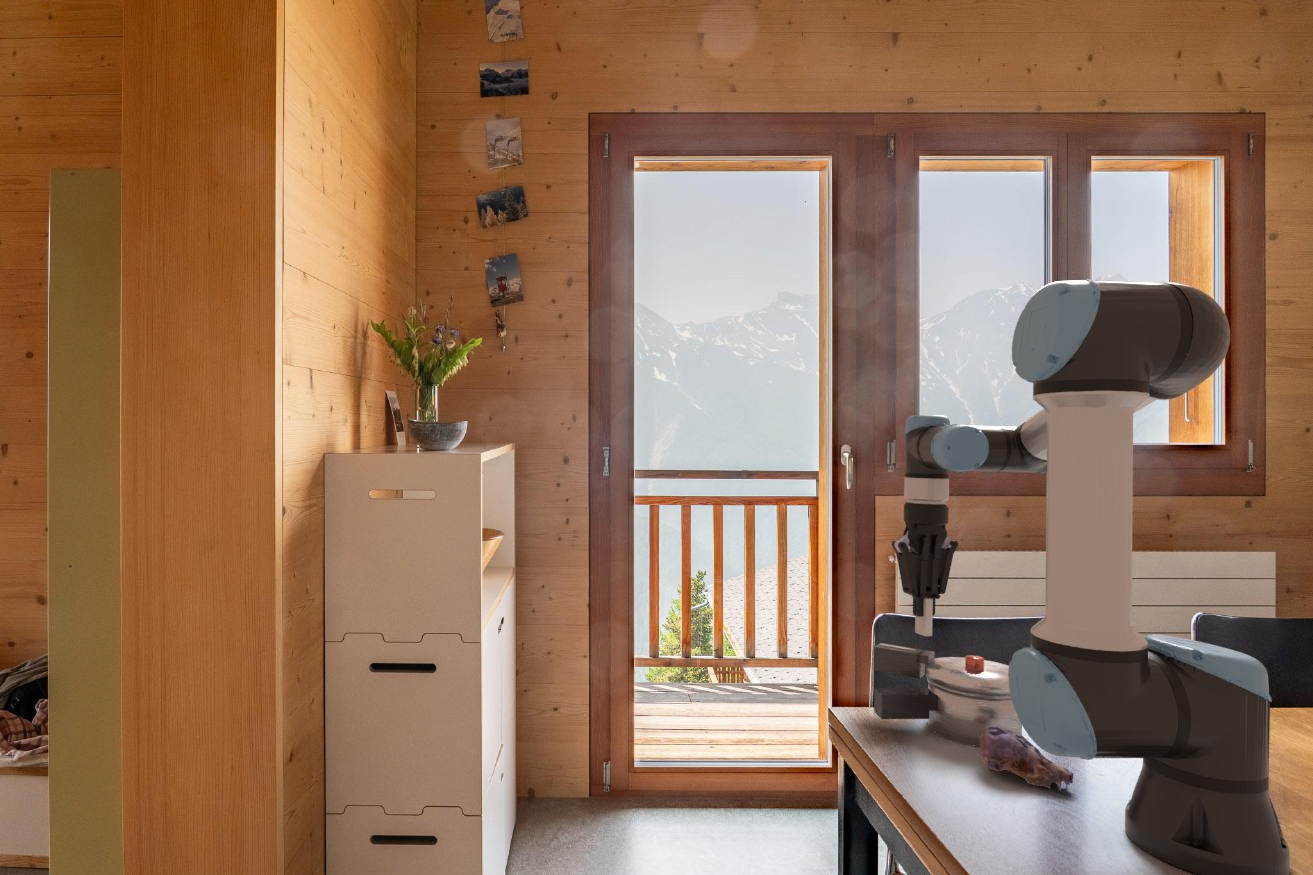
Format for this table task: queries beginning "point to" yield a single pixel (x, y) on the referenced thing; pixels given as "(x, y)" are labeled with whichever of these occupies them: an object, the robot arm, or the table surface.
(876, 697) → the pot
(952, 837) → the table surface
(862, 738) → the table surface
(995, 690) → the lid
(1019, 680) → the robot arm
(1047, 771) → the skull
